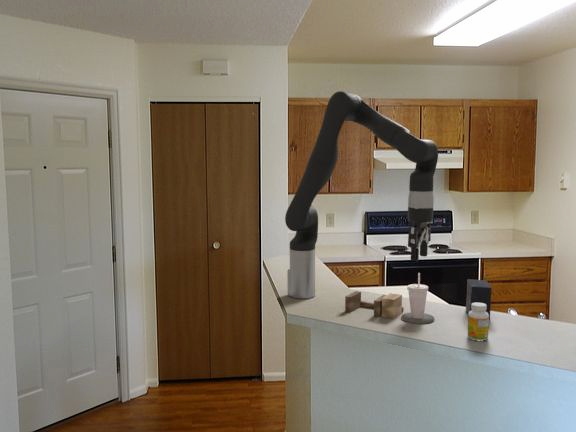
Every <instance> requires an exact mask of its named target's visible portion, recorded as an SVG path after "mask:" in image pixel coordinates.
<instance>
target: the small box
mask: <svg viewBox="0 0 576 432" xmlns="http://www.w3.org/2000/svg"><path fill="white" fill-rule="evenodd" d="M466 283H467V284H466V300H465V301H466V302H465V303H466V304H465V311H466V313H467V315H468V313H469V312H470V311H471V310H472V309H471V304H472V303H476V302H478V303H484V304H486V305H487V309H486V312H487V313H488V314H489V321H490V320H491V306H492V286H491V285H490V283H489V282H488V281H487V280H485V279H484V280H483V279H470V278H468V279H466Z"/></svg>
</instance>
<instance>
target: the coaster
mask: <svg viewBox="0 0 576 432" xmlns="http://www.w3.org/2000/svg"><path fill="white" fill-rule="evenodd" d="M401 320H402V321H404V322H406V323H408V324H409V323H410V324H414V325H415V324H417V325H427V324H431V323H433V322H435V316H433V315H432V314H430V313H429V314H428V313H425V312H424V317H423V318H420V319H418V318H413V317H411V312H405V313H403V314H401Z"/></svg>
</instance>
